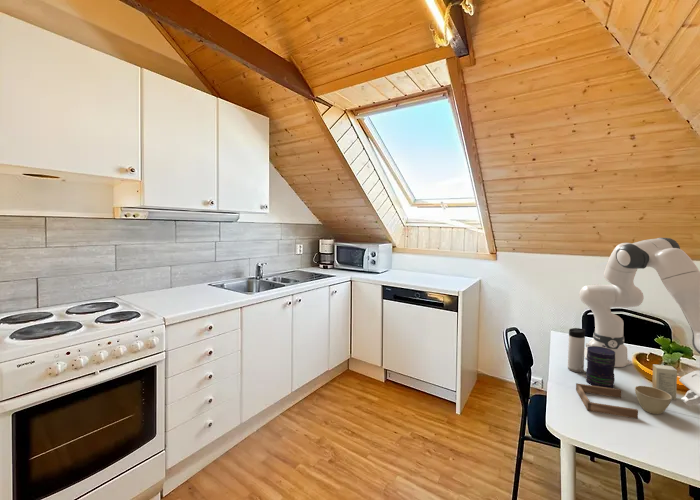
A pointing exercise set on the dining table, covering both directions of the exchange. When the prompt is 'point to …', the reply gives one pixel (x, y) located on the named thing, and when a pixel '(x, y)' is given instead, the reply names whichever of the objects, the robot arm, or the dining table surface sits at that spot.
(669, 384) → the skincare box
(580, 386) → the frame
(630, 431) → the dining table surface
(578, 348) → the travel mug
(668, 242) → the robot arm
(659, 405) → the beige bowl
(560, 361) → the dining table surface
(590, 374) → the storage jar
